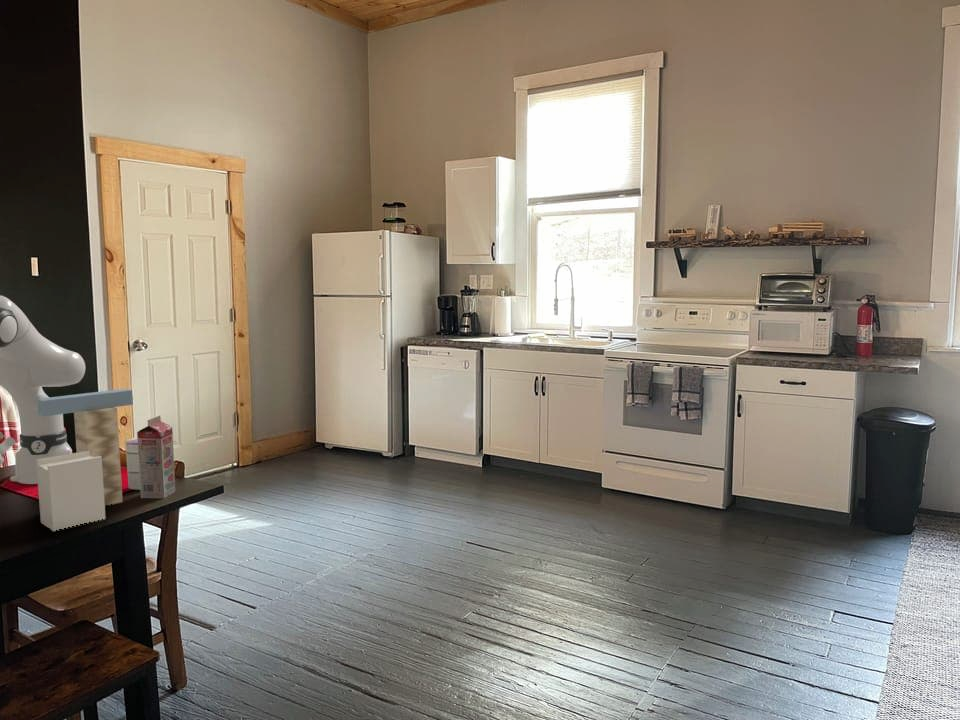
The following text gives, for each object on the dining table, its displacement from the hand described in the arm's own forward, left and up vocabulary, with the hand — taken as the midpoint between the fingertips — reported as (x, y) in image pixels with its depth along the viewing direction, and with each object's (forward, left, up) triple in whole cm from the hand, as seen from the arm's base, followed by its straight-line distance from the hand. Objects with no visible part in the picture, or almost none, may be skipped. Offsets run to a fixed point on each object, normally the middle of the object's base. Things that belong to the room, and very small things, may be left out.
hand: (7, 436), depth 180 cm
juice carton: (-13, +32, -22) cm, 41 cm away
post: (-10, +18, -22) cm, 30 cm away
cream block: (+4, +14, -22) cm, 26 cm away
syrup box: (-22, +27, -22) cm, 41 cm away
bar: (-9, +16, +4) cm, 19 cm away
